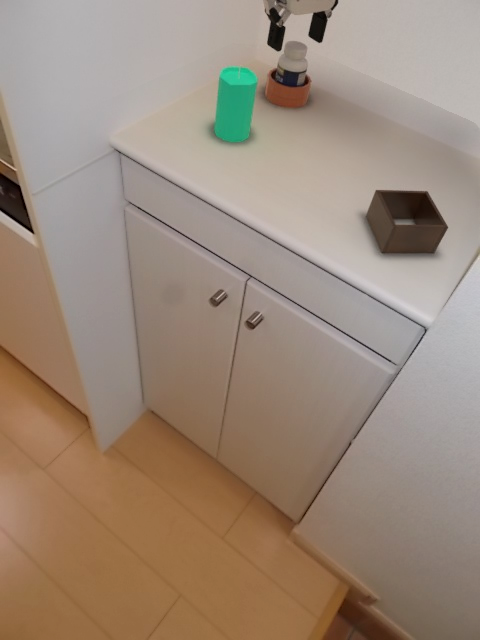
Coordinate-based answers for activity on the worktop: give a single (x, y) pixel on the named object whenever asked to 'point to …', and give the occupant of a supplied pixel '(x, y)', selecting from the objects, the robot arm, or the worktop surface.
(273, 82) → the bowl
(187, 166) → the worktop surface
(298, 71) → the pill bottle
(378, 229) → the box
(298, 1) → the robot arm
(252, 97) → the candle
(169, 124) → the worktop surface
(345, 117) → the worktop surface
